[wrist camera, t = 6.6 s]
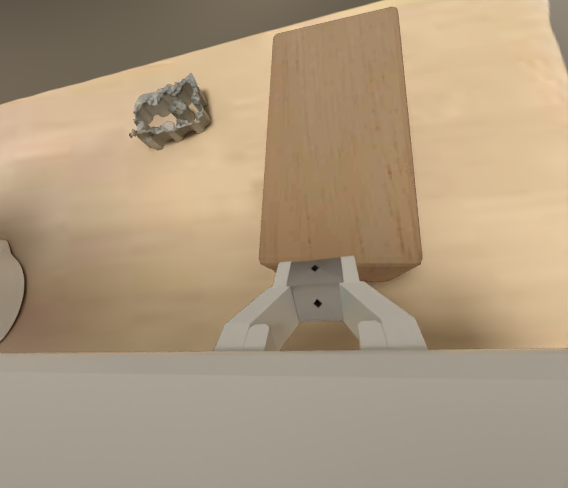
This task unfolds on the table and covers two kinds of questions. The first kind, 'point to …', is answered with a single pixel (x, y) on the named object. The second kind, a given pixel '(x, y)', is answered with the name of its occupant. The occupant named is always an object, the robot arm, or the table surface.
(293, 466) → the robot arm
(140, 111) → the egg carton
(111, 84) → the table surface
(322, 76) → the wooden block
